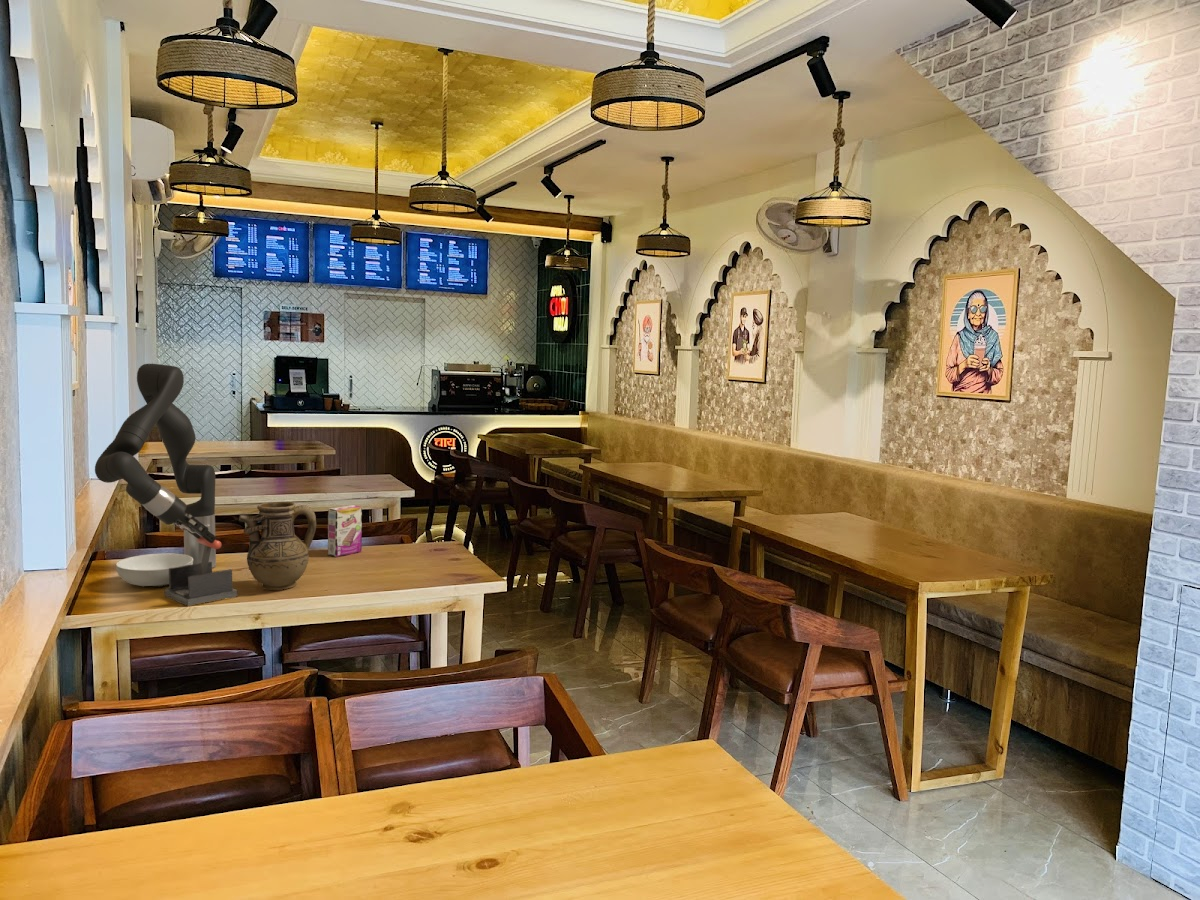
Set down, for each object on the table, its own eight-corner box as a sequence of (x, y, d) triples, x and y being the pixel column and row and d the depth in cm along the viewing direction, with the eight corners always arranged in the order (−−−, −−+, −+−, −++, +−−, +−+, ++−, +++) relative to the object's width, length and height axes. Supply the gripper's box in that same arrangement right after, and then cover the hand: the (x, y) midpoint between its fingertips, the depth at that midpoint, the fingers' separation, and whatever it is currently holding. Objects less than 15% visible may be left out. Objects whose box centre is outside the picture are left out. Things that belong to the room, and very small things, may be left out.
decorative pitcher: (315, 577, 282) (313, 498, 279) (319, 591, 265) (318, 507, 263) (240, 582, 274) (238, 501, 271) (240, 597, 258) (238, 511, 255)
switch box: (188, 606, 248) (187, 578, 247) (164, 595, 258) (163, 568, 257) (237, 596, 258) (236, 569, 257) (213, 587, 268) (212, 560, 267)
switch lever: (204, 587, 253) (214, 540, 254) (188, 580, 260) (198, 535, 261) (212, 587, 255) (222, 541, 256) (196, 581, 262) (206, 535, 262)
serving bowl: (113, 595, 257) (112, 571, 257) (119, 577, 277) (119, 555, 276) (193, 589, 266) (192, 566, 265) (194, 572, 285) (193, 551, 284)
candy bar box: (336, 557, 308) (336, 510, 306) (327, 555, 311) (326, 508, 309) (362, 552, 317) (362, 506, 315) (353, 550, 320) (353, 504, 318)
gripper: (183, 496, 245) (227, 531, 255) (162, 490, 254) (204, 524, 264) (164, 518, 241) (209, 553, 251) (143, 511, 251) (187, 545, 261)
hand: (207, 538), depth 258 cm, fingers open, 8 cm apart
